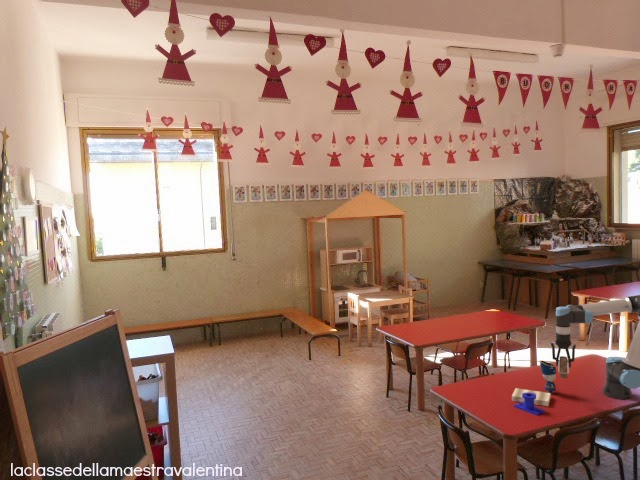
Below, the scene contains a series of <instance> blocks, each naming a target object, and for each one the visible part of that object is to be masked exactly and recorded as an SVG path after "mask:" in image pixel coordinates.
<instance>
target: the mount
mask: <svg viewBox="0 0 640 480" xmlns="http://www.w3.org/2000/svg"><path fill="white" fill-rule="evenodd" d="M522 397H523V398H524V403H523V402H518V403H515V404H513V407H514V408H517V409H518V410H521V411H523V412H526V413H529V414H531V415H534V416H540V415H541V414H544V413H546V410H545V409H542V408H539V407H537V406H535V404H534V399H536V395H535V394H533V393H523V394H522ZM539 414H540V415H539Z"/></svg>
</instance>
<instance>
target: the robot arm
mask: <svg viewBox="0 0 640 480" xmlns="http://www.w3.org/2000/svg"><path fill="white" fill-rule="evenodd" d="M625 312H627V313H629V314H630V313H632V314H633V313H636V314H637V313H638V314H637V318H638V320H639V321H638V322H637V326H636V328H635V332H634V334H633V337H632V340H631V342H630V345H629V348H628V350H627V352H626V357H623V356H608V357H606V361H605V369H606V370H605V371H606V372H605V373H606V376H605V378H606V380H605V383H604V385H603V388H602V393H603V395H604V396H606V397H609V398H613V399H615V400H616V399H617V400H629V399H630V400H631V399H632V398H633V391H632V390H633V389H634V390H635V389H638V388H640V294H637V295H632V296H631V295H630V296H625V297H623V298H622V299H621V298H620V299H615V300H606V301H601V302H599V301H598V302H591V303H585V304H578V305H577V304H576V305H573V304H568V305H566V306H558V307H556V308H555V332H556V333H555V341H554V342H553V341H551V343H550V346H551V355H552V360H555V367H557V372H558V373H560V356H561V350H565V353H566V357H567V374H569V373H570V368H571V367H572V362H575V358H576V357H575V353H576V350H575V349H576V346H577V344H574V343H572V340H571V324H591V323H592V322H593V320H594V316H602V315H609V314H617V313H625ZM555 346H557V347H558V349H557V353H556V348H555ZM570 347H571V349H572V350H571V351H572V353H571V354H570V350H569V348H570Z"/></svg>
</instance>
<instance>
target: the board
mask: <svg viewBox="0 0 640 480" xmlns="http://www.w3.org/2000/svg"><path fill="white" fill-rule="evenodd" d="M523 393H533V394H535V395H536V399H534V405H537V406H543V407H549V406H550V402H551V397H552V395H551V394H552V393H549V392H547V391H546V392H545V391H540V390H539V391H538V390H531V389H524V388H517V387H515V389H514V391H513V392H512V395H511V401H512V402H518V403H521V402H524V398H523V397H522V394H523Z"/></svg>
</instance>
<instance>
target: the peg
mask: <svg viewBox="0 0 640 480" xmlns="http://www.w3.org/2000/svg"><path fill="white" fill-rule="evenodd" d="M559 360H560V372H559V377H560V378H562V379H567V378H568V377H569V376H568V373H567V361H568V357H567V356H565V355H563V356H562V355H559Z"/></svg>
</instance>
